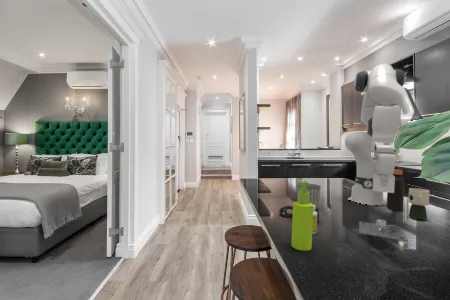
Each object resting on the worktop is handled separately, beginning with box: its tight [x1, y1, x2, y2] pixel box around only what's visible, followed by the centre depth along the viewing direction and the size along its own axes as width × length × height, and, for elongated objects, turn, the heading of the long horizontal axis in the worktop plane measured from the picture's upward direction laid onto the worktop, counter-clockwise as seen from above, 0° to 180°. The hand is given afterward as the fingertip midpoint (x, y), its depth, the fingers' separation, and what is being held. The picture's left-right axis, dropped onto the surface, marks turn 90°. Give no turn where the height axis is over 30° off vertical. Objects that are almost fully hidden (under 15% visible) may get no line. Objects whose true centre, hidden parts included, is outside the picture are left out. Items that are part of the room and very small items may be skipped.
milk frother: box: [278, 182, 321, 225], centre depth 102 cm, size 14×16×15 cm
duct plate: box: [358, 218, 409, 242], centre depth 90 cm, size 14×14×4 cm
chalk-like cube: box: [372, 173, 395, 193], centre depth 90 cm, size 6×6×6 cm
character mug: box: [407, 187, 430, 221], centre depth 107 cm, size 11×7×13 cm, turn 149°
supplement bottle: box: [312, 205, 318, 235], centre depth 87 cm, size 5×5×10 cm
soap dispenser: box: [290, 179, 313, 252], centre depth 75 cm, size 6×7×20 cm
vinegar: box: [386, 168, 405, 212], centre depth 123 cm, size 7×7×20 cm
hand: (383, 185), depth 90 cm, fingers closed on chalk-like cube, 6 cm apart
